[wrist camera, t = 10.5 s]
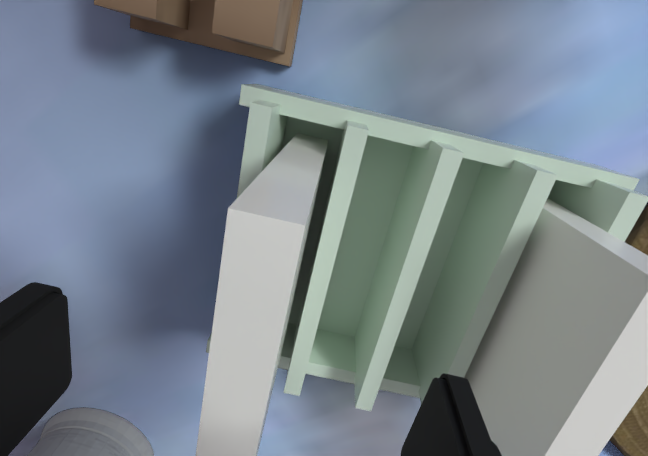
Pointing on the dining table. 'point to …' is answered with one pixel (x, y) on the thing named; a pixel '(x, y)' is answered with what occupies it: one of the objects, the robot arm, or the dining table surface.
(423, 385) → the rack
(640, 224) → the decorative disc
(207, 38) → the stand
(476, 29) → the dining table surface
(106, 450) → the grey black mug
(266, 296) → the tall white panel
